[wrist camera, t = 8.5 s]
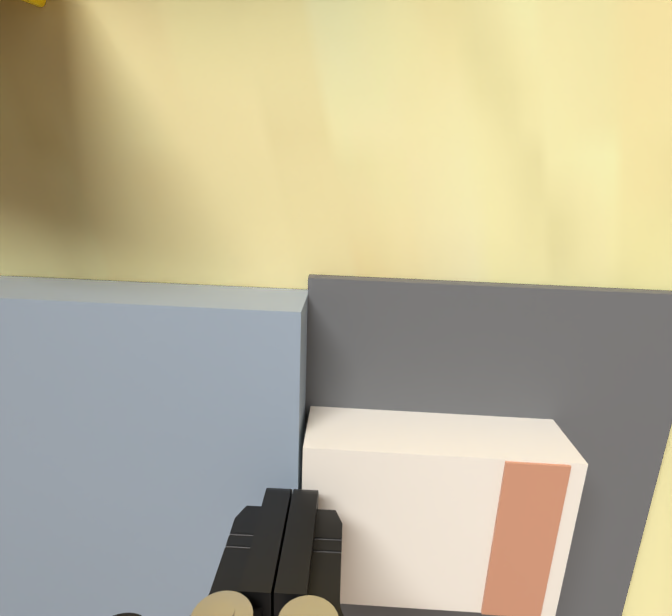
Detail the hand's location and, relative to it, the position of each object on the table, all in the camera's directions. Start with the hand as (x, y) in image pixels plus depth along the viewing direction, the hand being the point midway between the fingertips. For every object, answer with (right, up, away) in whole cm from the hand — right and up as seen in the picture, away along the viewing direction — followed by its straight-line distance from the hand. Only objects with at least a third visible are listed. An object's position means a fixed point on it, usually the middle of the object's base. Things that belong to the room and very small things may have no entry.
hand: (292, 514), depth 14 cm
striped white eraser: (+4, 0, +3) cm, 5 cm away
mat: (+6, 0, +3) cm, 7 cm away
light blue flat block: (-6, +1, +3) cm, 7 cm away
